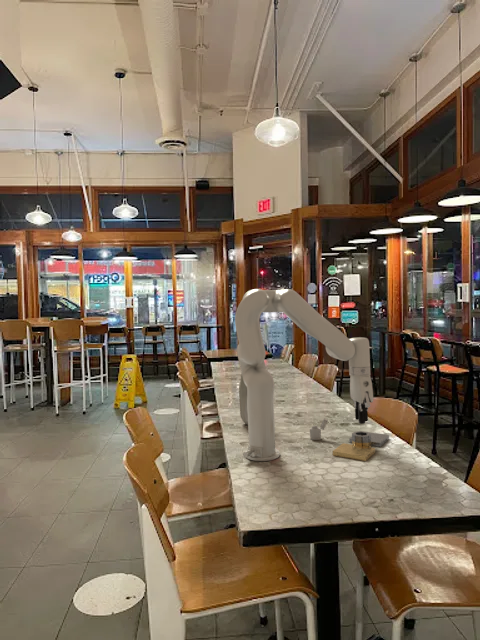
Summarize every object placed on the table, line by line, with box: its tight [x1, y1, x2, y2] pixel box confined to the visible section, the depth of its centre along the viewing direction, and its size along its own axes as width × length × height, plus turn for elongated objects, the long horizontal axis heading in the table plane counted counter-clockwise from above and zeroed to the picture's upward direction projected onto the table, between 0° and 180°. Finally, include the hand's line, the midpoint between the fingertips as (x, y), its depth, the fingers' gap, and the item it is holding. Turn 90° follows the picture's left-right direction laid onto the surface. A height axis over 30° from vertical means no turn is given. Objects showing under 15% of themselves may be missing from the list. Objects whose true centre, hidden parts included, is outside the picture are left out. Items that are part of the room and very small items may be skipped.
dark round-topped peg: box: [358, 401, 366, 425], centre depth 165 cm, size 3×3×9 cm
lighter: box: [309, 418, 329, 441], centre depth 178 cm, size 7×2×8 cm, turn 87°
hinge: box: [332, 430, 390, 462], centre depth 166 cm, size 27×12×5 cm, turn 146°
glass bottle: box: [238, 372, 248, 425], centre depth 202 cm, size 10×10×28 cm
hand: (361, 419), depth 166 cm, fingers closed on dark round-topped peg, 2 cm apart
